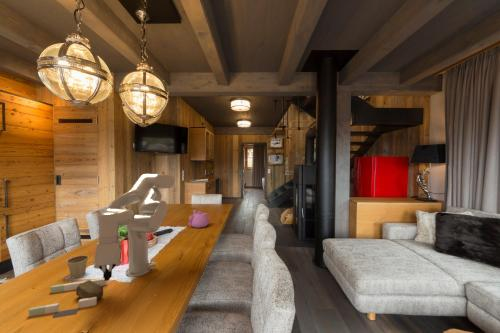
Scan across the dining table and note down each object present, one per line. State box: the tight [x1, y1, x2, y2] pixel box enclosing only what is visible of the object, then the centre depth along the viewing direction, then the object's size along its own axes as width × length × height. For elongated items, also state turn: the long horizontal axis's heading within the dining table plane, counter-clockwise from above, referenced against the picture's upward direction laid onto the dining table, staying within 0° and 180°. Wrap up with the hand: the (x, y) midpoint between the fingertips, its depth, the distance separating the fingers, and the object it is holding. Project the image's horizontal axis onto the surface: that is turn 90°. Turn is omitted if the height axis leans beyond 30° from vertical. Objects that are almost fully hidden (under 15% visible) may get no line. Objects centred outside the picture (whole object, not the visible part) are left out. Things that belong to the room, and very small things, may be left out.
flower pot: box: [65, 254, 90, 278], centre depth 118 cm, size 9×9×9 cm
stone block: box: [75, 279, 104, 301], centre depth 98 cm, size 6×12×5 cm, turn 66°
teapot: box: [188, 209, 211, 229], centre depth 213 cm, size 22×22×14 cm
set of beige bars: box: [28, 278, 108, 318], centre depth 98 cm, size 22×18×3 cm
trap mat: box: [52, 307, 81, 319], centre depth 88 cm, size 8×4×1 cm, turn 110°
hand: (107, 279), depth 101 cm, fingers closed
